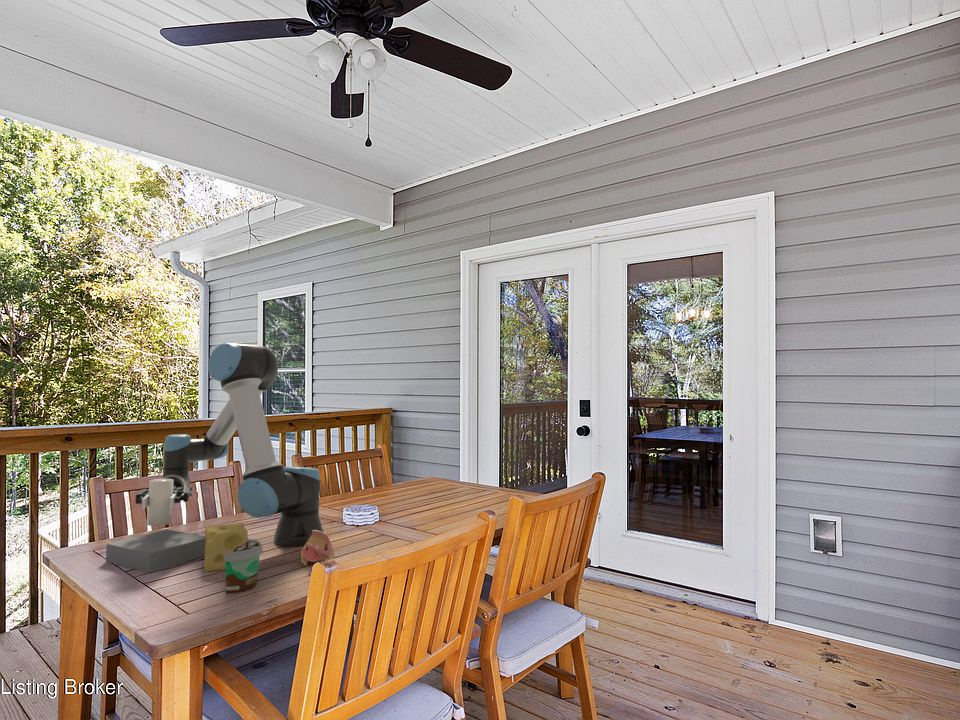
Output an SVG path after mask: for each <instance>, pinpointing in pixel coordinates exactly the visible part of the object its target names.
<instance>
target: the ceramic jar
mask: <svg viewBox="0 0 960 720" xmlns="http://www.w3.org/2000/svg"><path fill="white" fill-rule="evenodd" d="M173 483H174V480H173V479H163V478H155V479H151V480H149V483H148V489H149V498H148V506H147V517H146V518H147V519H146V523H147V524H146V525H147V526H151V527H155V526H156V527H158V526H161V527H162V526H166V525H170V524H171V523H172V520H173V519H172V518H173V508H169V503H170V497H171V496H172V495H173Z"/></svg>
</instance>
